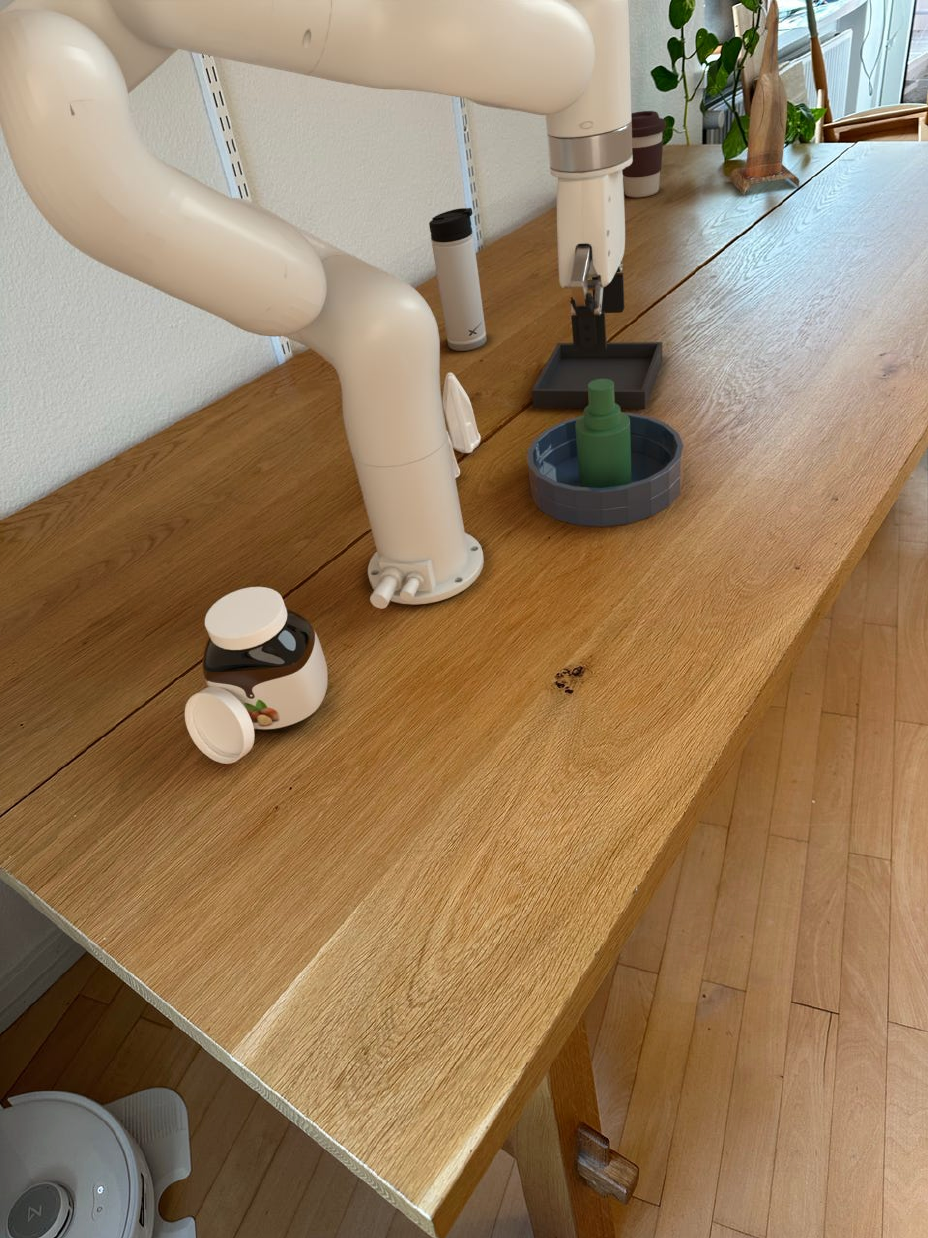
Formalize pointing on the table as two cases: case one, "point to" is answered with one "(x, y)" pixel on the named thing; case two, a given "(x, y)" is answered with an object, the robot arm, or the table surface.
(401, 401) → the robot arm
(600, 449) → the bottle
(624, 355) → the tray
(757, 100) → the bird sculpture
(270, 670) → the spread jar
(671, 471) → the bowl
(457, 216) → the travel mug
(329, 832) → the table surface
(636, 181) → the coffee cup
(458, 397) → the white fin shape
